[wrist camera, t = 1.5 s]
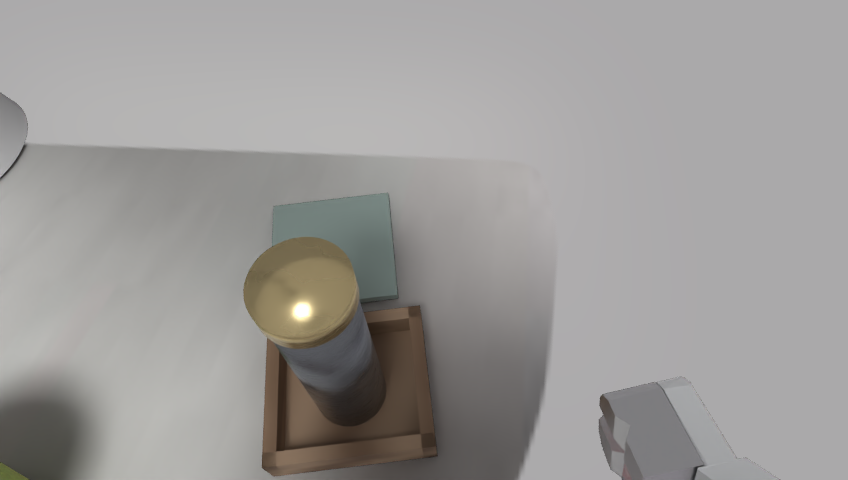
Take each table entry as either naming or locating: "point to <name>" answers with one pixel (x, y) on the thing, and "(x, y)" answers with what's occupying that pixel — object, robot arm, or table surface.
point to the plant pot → (10, 473)
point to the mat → (348, 237)
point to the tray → (366, 443)
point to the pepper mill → (318, 326)
